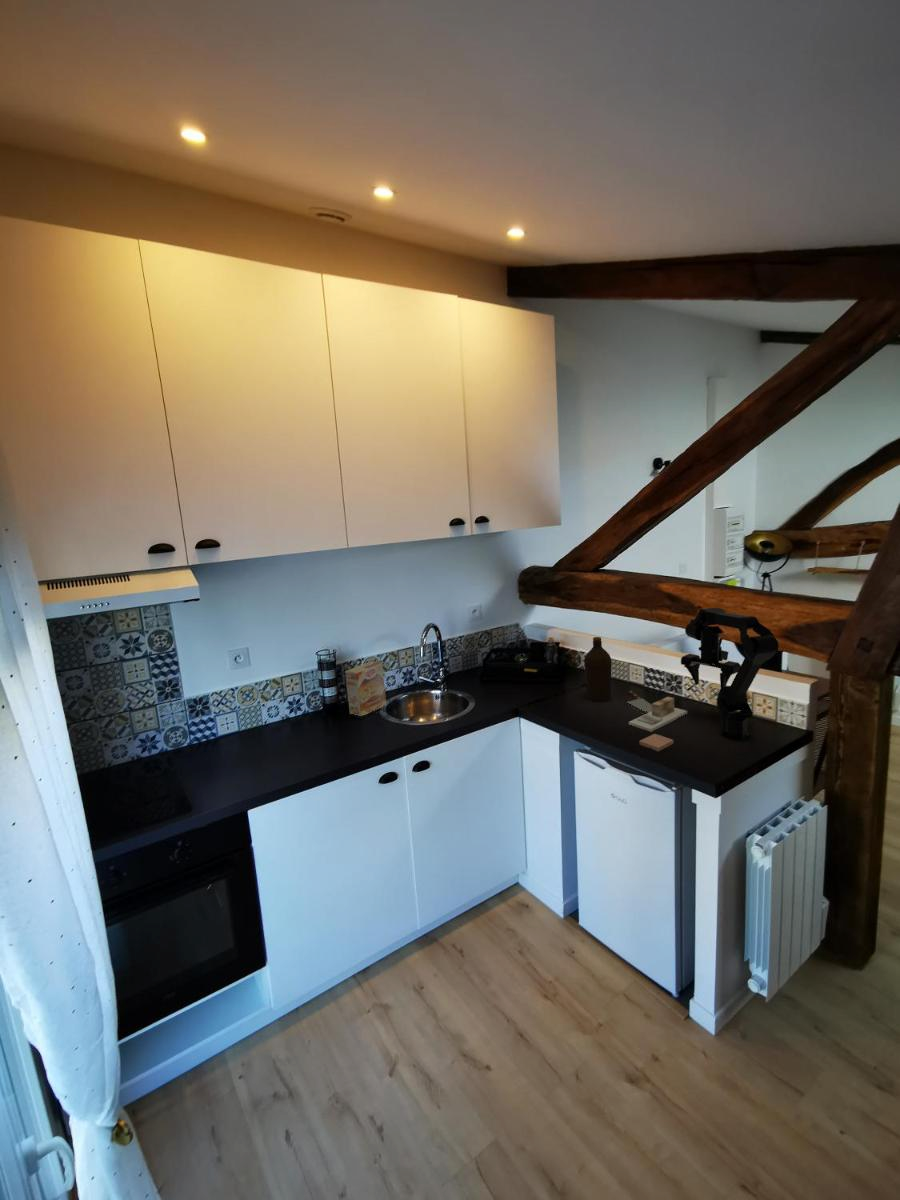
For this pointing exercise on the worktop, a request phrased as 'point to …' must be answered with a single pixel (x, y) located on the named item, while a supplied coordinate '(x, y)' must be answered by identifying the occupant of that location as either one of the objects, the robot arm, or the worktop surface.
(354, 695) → the coffeecake box
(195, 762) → the worktop surface
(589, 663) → the olive oil
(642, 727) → the rest board
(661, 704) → the turner
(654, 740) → the tile
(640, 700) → the kitchen cleaver
